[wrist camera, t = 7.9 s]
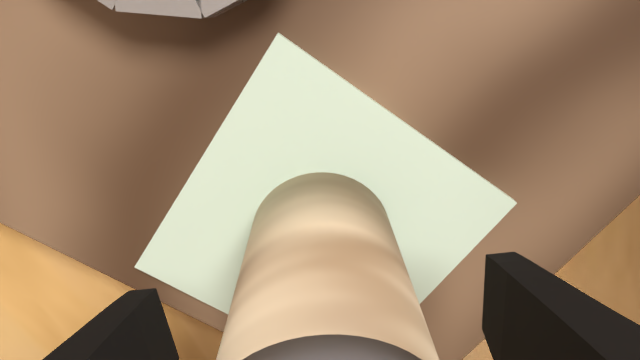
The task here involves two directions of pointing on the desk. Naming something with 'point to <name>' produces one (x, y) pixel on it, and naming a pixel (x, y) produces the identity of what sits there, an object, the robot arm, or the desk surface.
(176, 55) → the walnut board
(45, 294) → the desk surface
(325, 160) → the sage pad
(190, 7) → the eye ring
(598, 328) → the robot arm
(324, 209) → the beech pin
